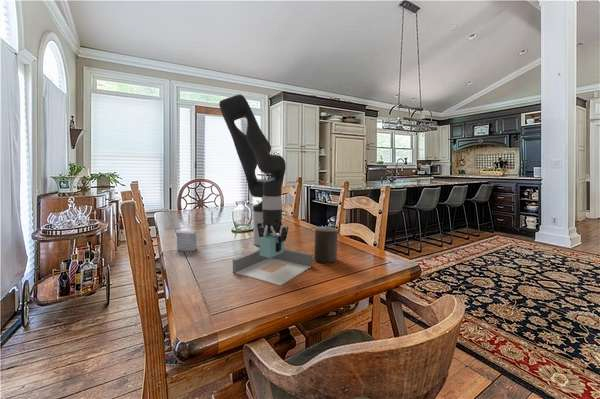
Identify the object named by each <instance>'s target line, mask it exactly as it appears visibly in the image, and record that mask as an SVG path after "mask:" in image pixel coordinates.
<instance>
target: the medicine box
mask: <svg viewBox="0 0 600 399" xmlns="http://www.w3.org/2000/svg"><path fill="white" fill-rule="evenodd" d="M175 234H176V249H177V251H178V252H194V251H196V250H197V249H198V242H197V240H198V239H197V238H198V237H197V231H192V230H190V231H189V230H187V231H186V230H180V231H178V232H177V233H175Z"/></svg>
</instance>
